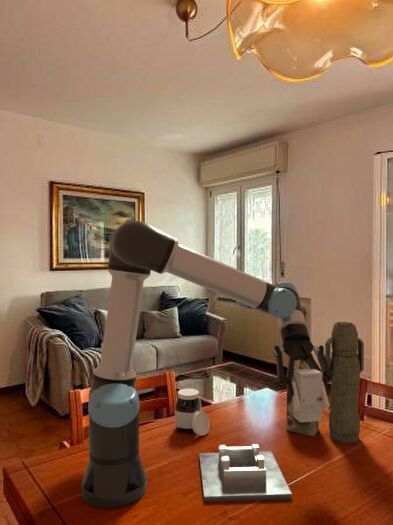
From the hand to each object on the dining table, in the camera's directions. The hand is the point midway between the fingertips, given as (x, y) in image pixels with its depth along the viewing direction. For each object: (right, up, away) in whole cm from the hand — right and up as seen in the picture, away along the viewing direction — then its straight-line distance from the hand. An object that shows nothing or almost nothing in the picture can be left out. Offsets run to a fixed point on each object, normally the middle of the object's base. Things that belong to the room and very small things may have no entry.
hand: (312, 408), depth 98 cm
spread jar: (-29, -18, +30) cm, 46 cm away
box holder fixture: (-17, -18, +3) cm, 25 cm away
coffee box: (+6, -18, +30) cm, 36 cm away
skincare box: (0, -4, +4) cm, 6 cm away
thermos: (+17, -18, +25) cm, 35 cm away
